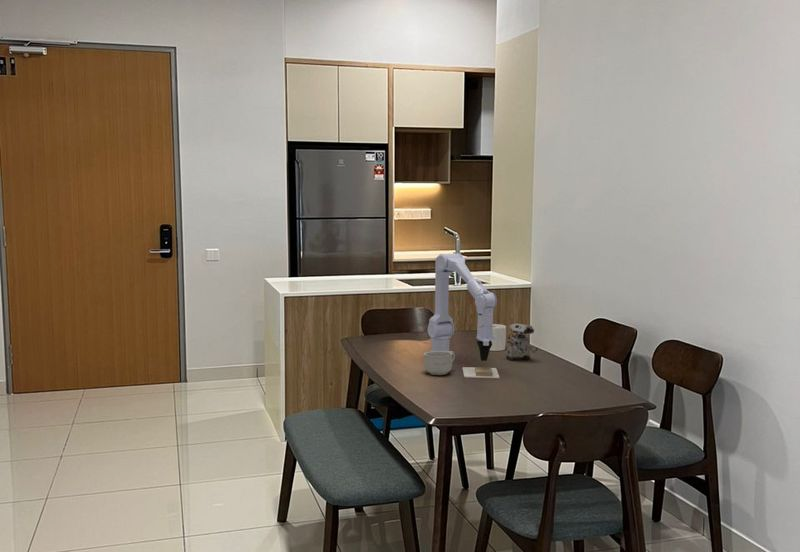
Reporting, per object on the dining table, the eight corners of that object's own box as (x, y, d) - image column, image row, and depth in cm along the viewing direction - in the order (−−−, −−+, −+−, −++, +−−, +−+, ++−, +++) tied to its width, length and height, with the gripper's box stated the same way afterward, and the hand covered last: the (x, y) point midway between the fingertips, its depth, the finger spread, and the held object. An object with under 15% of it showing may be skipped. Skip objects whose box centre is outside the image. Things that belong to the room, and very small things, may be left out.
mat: (462, 368, 299) (462, 367, 299) (495, 369, 299) (496, 368, 299) (464, 377, 285) (464, 376, 285) (499, 378, 285) (499, 377, 285)
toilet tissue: (499, 352, 328) (500, 329, 326) (473, 348, 334) (474, 326, 333) (509, 348, 337) (510, 325, 335) (484, 344, 343) (485, 322, 342)
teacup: (433, 378, 283) (434, 357, 282) (417, 371, 292) (418, 351, 291) (464, 374, 290) (465, 353, 289) (448, 367, 299) (448, 347, 298)
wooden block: (475, 367, 293) (476, 371, 286) (490, 367, 293) (492, 372, 286) (475, 371, 293) (476, 375, 286) (490, 371, 293) (492, 376, 286)
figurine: (516, 364, 307) (518, 327, 305) (504, 357, 318) (505, 322, 316) (537, 363, 310) (538, 326, 308) (524, 356, 321) (525, 321, 319)
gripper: (497, 329, 281) (496, 365, 283) (494, 321, 296) (492, 356, 297) (478, 328, 281) (477, 364, 283) (475, 321, 296) (474, 355, 297)
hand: (483, 360), depth 290 cm, fingers closed
